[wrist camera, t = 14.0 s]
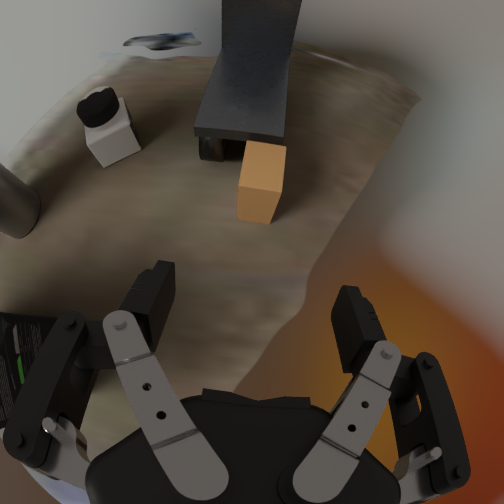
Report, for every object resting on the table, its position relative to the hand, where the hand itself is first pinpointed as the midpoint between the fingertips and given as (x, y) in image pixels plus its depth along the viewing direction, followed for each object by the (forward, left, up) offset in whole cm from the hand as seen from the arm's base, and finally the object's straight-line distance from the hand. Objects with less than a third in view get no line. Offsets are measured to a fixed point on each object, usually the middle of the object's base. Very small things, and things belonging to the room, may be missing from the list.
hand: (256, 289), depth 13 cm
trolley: (-3, +30, -22) cm, 37 cm away
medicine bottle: (-24, +23, -23) cm, 40 cm away
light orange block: (0, +15, -22) cm, 27 cm away
